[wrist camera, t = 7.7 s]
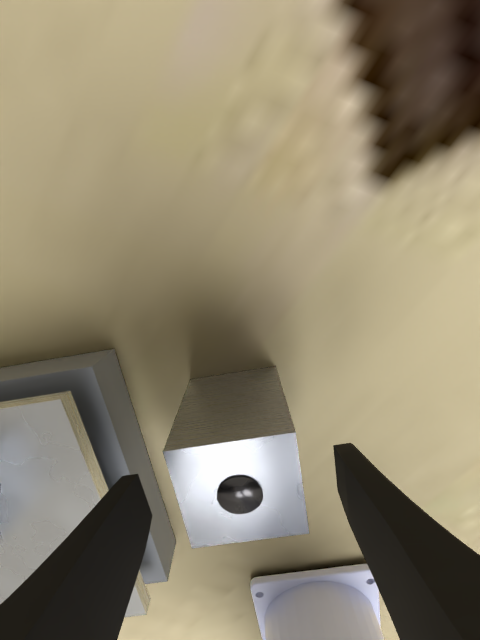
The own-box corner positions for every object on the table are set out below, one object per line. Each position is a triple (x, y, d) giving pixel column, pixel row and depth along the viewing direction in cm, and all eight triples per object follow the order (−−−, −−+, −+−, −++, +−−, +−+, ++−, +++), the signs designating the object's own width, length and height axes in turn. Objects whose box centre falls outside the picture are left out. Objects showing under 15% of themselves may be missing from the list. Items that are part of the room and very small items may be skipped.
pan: (161, 554, 15) (146, 614, 13) (-32, 579, 16) (-84, 641, 13) (97, 368, 12) (60, 399, 10) (-141, 407, 13) (-236, 446, 10)
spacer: (286, 438, 14) (309, 535, 10) (207, 449, 15) (191, 550, 10) (275, 365, 13) (295, 433, 8) (190, 378, 14) (162, 453, 9)
